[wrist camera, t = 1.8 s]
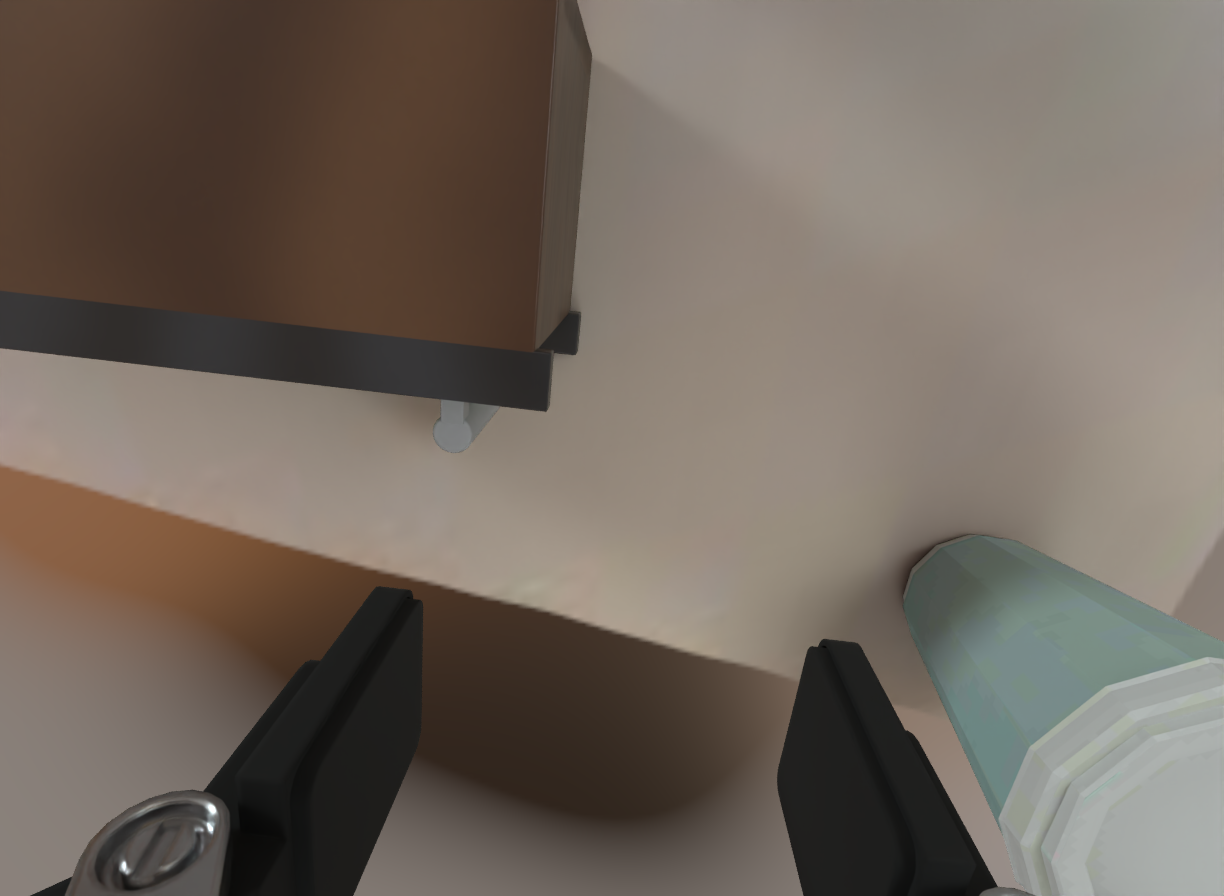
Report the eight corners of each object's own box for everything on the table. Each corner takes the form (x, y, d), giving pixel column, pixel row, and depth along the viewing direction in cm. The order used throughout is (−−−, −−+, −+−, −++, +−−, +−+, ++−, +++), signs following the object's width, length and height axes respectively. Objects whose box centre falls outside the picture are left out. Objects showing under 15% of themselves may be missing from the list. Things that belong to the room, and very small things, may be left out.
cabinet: (605, 55, 25) (583, -53, 15) (577, 352, 29) (547, 412, 19) (-30, -17, 25) (-439, -169, 16) (26, 288, 29) (-275, 316, 19)
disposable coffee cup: (821, 564, 32) (970, 836, 17) (1027, 442, 29) (1397, 643, 15) (925, 709, 34) (1130, 1050, 20) (1123, 607, 32) (1517, 914, 17)
